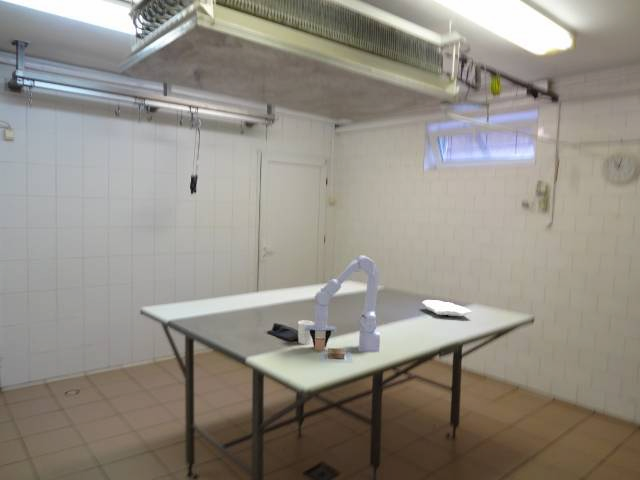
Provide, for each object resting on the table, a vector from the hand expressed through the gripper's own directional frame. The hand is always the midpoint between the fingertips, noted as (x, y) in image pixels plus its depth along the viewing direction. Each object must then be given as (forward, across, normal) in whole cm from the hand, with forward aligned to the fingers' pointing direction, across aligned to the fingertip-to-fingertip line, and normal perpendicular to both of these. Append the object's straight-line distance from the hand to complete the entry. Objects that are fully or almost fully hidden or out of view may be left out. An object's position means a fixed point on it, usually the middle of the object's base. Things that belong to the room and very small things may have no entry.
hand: (319, 346), depth 215 cm
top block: (+1, 0, 0) cm, 1 cm away
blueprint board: (+1, +7, -10) cm, 13 cm away
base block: (+1, +7, -10) cm, 13 cm away
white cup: (+2, -7, +9) cm, 12 cm away
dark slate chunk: (+2, -15, +21) cm, 26 cm away
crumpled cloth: (+2, +80, +78) cm, 112 cm away
